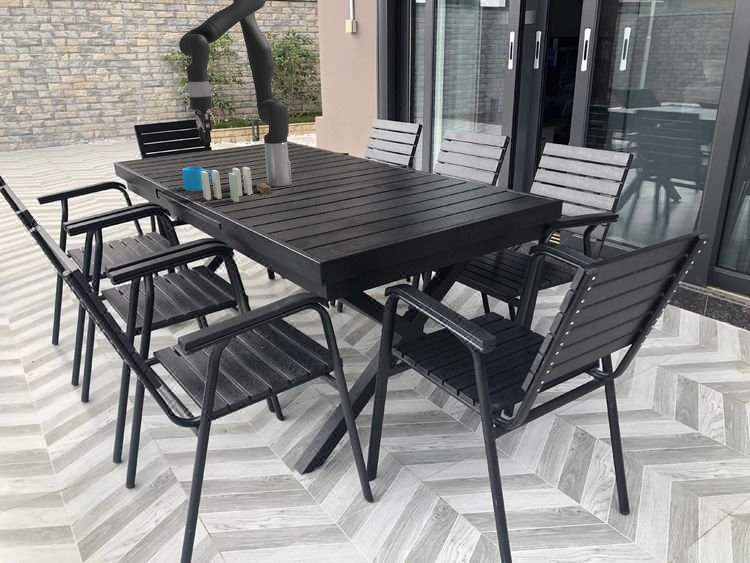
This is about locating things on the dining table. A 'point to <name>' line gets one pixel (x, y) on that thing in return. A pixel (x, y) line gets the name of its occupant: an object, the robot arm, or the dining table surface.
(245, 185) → the domino end
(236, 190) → the domino
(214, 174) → the domino
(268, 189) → the end stop
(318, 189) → the dining table surface
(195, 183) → the mug
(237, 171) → the domino
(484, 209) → the dining table surface
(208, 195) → the domino
